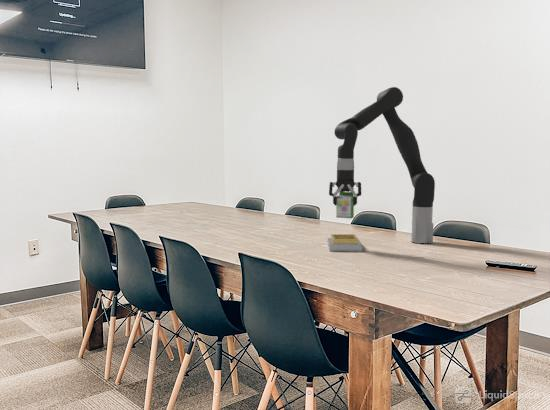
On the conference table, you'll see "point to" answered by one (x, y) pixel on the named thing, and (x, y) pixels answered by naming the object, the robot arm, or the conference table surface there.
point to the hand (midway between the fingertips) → (344, 205)
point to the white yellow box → (344, 242)
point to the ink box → (345, 205)
